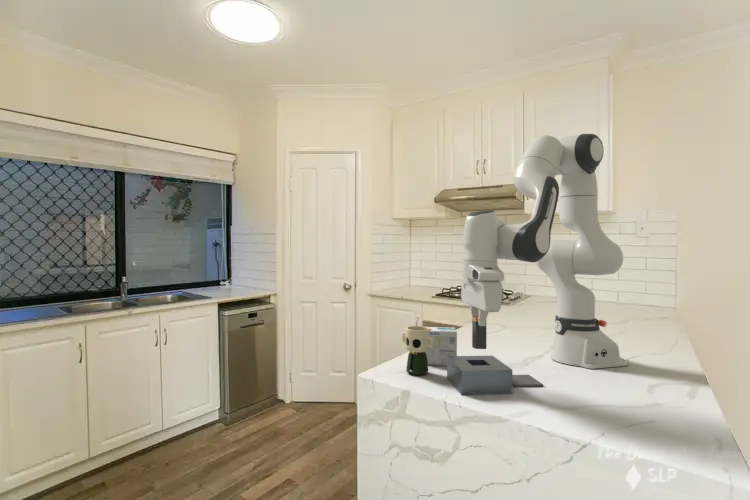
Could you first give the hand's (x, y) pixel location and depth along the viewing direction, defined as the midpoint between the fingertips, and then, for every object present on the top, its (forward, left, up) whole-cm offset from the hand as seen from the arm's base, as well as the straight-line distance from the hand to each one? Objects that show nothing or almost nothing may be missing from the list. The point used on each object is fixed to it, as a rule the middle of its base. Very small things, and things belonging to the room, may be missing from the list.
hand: (478, 324), depth 108 cm
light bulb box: (+5, -21, -17) cm, 27 cm away
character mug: (+14, -11, -16) cm, 24 cm away
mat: (-13, -2, -16) cm, 21 cm away
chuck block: (0, -3, -16) cm, 16 cm away
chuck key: (0, +1, -6) cm, 6 cm away
